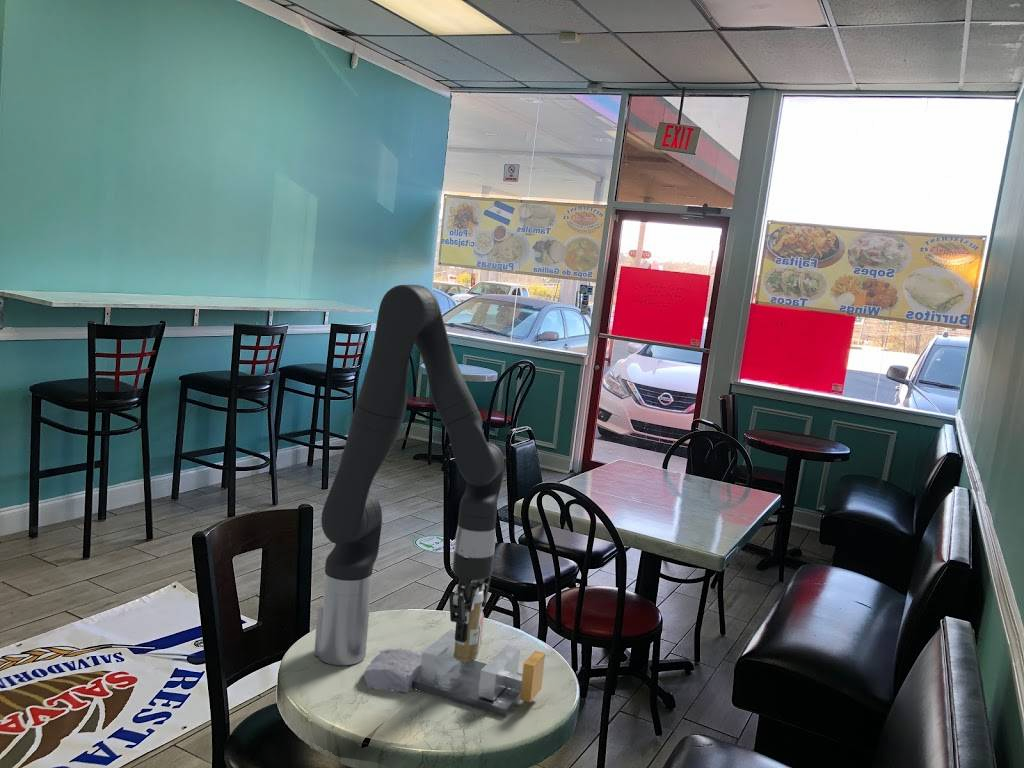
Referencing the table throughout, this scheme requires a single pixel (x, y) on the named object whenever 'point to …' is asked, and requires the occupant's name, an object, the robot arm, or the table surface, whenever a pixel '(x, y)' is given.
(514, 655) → the sliding jaw
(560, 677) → the table surface
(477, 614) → the sprinkles bottle
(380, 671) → the stone block
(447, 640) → the vise
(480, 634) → the tea box
